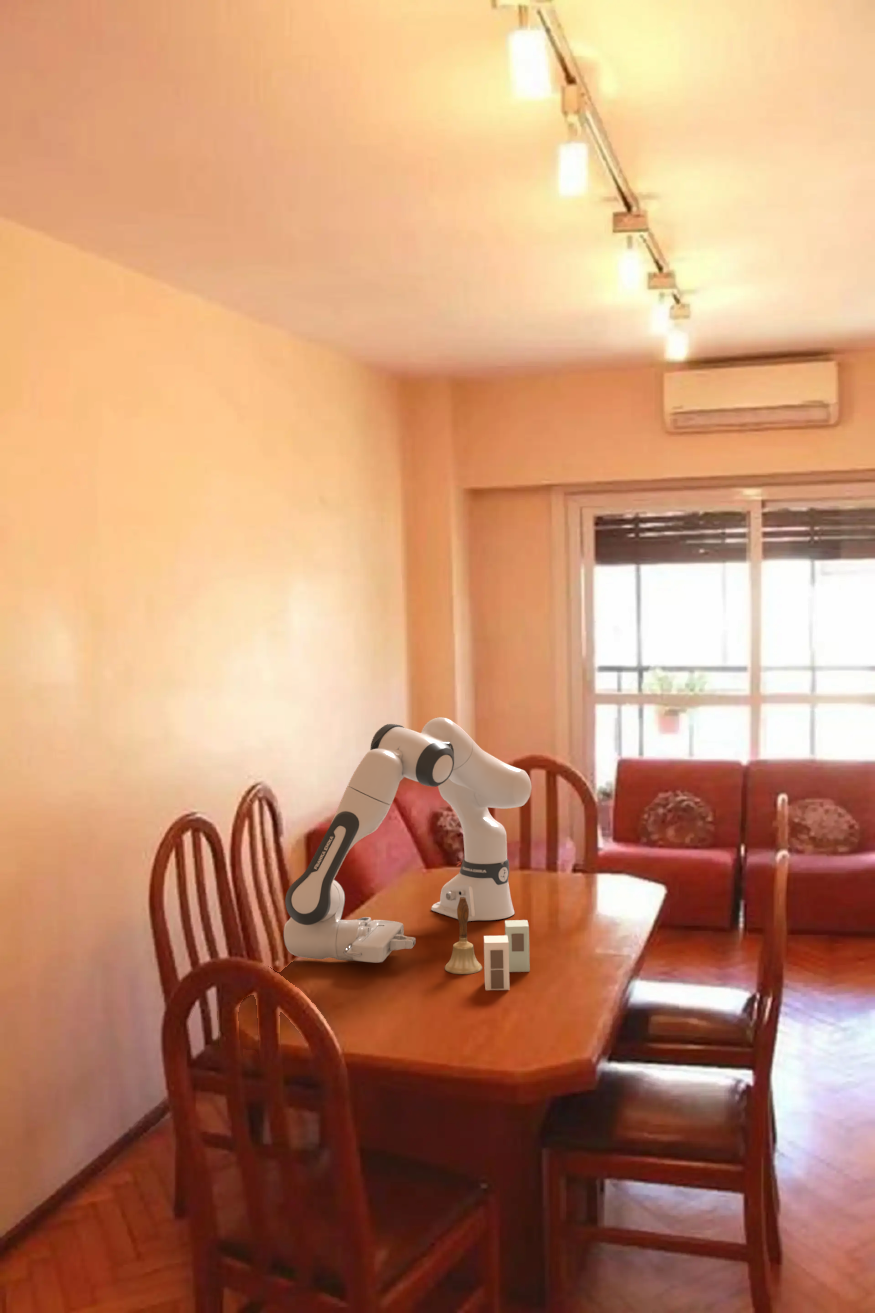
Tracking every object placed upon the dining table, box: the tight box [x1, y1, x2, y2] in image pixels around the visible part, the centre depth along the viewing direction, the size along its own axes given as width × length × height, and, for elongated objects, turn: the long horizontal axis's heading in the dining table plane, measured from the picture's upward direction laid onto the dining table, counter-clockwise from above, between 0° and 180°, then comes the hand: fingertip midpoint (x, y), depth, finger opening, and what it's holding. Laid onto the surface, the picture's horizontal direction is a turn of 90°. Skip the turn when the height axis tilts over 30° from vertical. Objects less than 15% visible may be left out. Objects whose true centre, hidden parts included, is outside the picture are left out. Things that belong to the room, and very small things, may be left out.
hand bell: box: [444, 897, 483, 975], centre depth 252 cm, size 8×8×16 cm
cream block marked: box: [483, 934, 511, 991], centre depth 240 cm, size 5×5×10 cm
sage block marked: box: [504, 919, 531, 973], centre depth 251 cm, size 5×5×10 cm
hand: (414, 943), depth 254 cm, fingers closed
